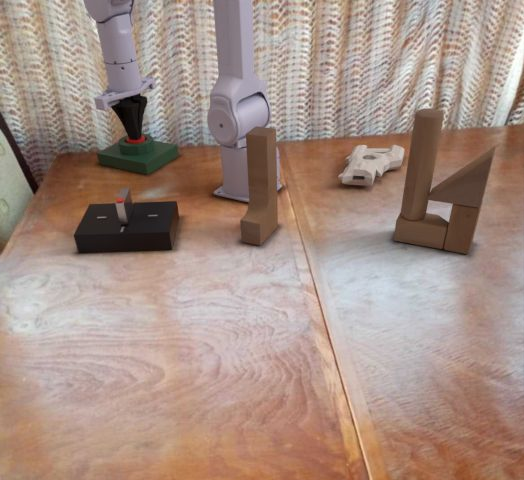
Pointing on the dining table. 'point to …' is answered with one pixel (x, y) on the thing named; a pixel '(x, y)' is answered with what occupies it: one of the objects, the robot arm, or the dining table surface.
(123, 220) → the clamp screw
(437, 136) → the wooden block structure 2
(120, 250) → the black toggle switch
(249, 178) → the wooden block
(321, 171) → the dining table surface
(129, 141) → the release button
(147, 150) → the box
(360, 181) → the gun
